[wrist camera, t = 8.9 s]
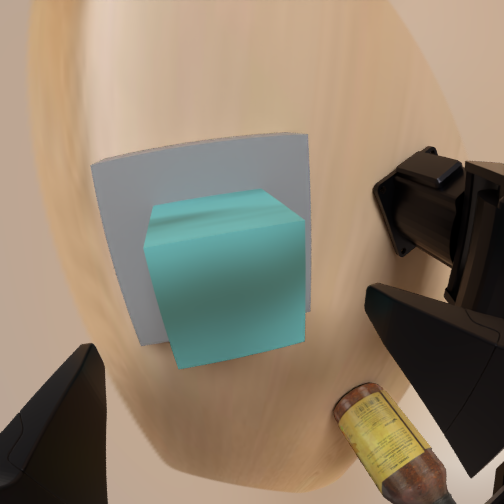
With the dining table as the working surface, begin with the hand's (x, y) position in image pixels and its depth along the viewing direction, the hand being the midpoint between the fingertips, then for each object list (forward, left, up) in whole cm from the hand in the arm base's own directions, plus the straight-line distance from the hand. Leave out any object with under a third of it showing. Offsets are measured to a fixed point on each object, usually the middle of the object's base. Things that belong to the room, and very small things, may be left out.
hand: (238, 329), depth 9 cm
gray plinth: (0, 0, -9) cm, 9 cm away
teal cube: (0, 0, -6) cm, 6 cm away
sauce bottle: (-25, -2, -10) cm, 27 cm away
